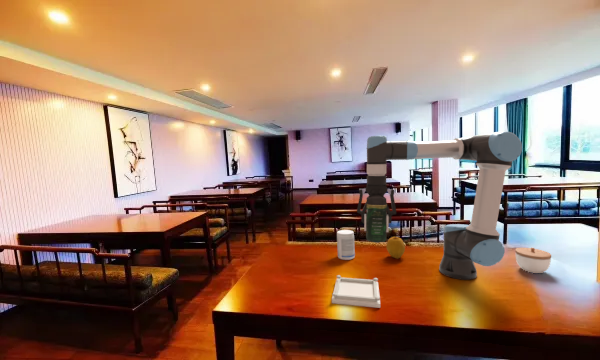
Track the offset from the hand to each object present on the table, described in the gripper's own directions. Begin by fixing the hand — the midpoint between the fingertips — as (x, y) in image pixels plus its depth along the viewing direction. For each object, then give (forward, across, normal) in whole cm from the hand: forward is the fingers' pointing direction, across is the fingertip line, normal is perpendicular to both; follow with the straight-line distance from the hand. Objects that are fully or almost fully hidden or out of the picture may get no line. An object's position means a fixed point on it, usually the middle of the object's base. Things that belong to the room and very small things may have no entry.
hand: (376, 230), depth 106 cm
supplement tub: (+26, +15, -38) cm, 48 cm away
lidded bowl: (+25, -72, -34) cm, 83 cm away
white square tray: (+26, +8, +2) cm, 27 cm away
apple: (+26, -12, -42) cm, 50 cm away
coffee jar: (+4, 0, 0) cm, 4 cm away
